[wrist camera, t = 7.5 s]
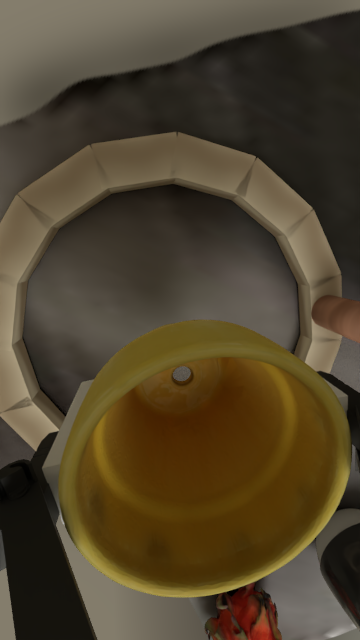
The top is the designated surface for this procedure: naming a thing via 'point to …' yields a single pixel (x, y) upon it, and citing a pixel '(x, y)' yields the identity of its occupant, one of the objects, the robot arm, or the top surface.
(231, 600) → the dragon fruit
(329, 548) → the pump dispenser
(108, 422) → the plant pot
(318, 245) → the beige segmented ring
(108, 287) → the top surface
